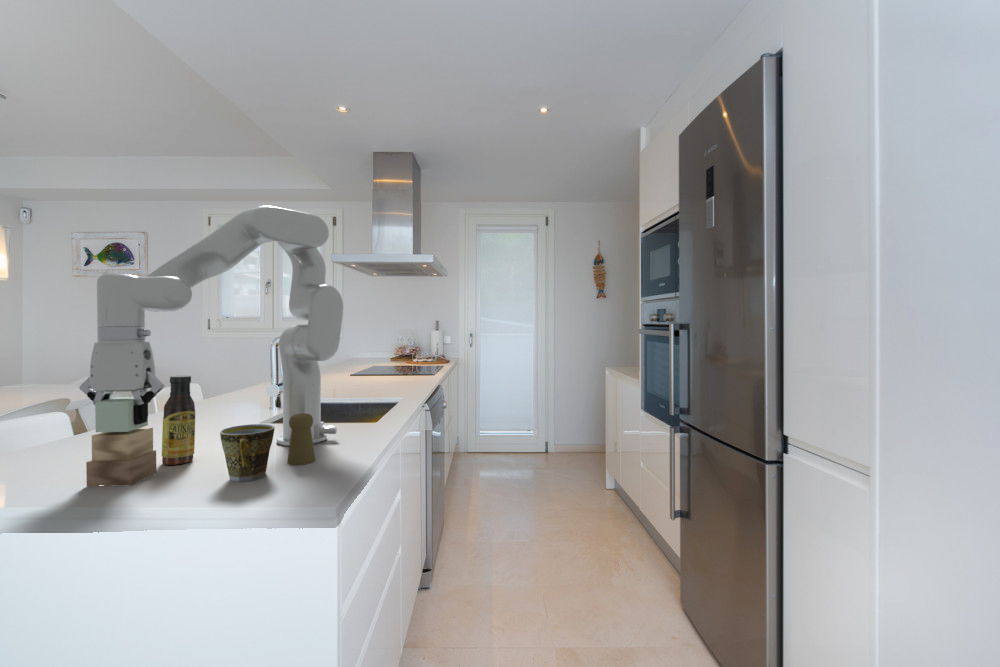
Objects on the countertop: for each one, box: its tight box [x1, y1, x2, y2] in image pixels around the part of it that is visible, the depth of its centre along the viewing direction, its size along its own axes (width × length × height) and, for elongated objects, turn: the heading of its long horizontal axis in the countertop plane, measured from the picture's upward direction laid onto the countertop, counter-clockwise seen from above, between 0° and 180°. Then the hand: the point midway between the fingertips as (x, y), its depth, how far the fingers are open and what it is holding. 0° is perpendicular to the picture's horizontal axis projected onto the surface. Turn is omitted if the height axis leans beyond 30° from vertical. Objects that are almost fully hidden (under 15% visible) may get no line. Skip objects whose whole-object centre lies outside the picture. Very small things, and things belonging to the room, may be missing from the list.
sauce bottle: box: [161, 375, 196, 466], centre depth 108 cm, size 7×6×20 cm
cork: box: [286, 413, 316, 466], centre depth 109 cm, size 6×6×11 cm
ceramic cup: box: [219, 423, 275, 483], centre depth 96 cm, size 13×10×10 cm
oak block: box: [91, 427, 154, 461], centre depth 96 cm, size 7×7×5 cm
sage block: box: [94, 396, 149, 433], centre depth 96 cm, size 6×6×6 cm
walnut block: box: [85, 449, 157, 487], centre depth 96 cm, size 8×8×5 cm
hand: (122, 422), depth 96 cm, fingers closed on sage block, 6 cm apart
